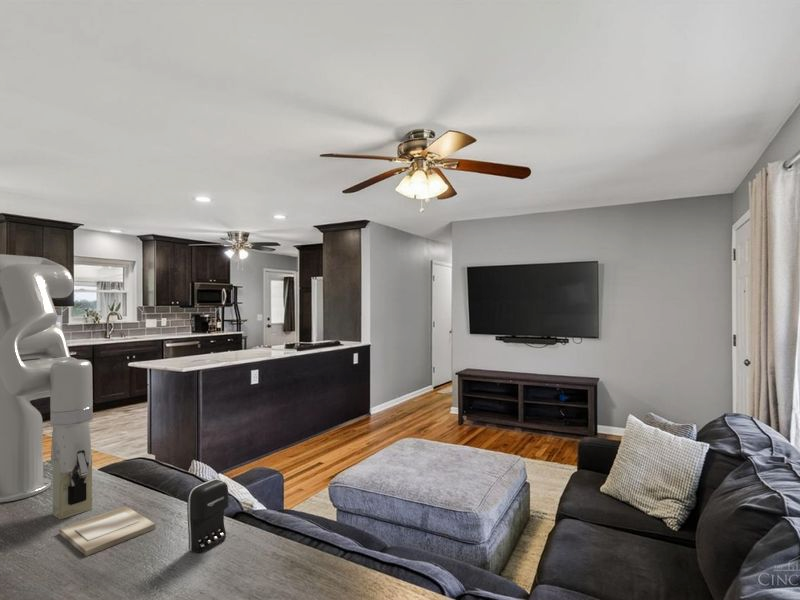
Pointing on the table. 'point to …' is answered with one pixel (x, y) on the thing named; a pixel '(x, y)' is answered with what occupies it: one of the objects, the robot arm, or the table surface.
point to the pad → (106, 530)
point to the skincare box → (61, 493)
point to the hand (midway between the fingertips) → (73, 498)
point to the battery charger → (207, 514)
